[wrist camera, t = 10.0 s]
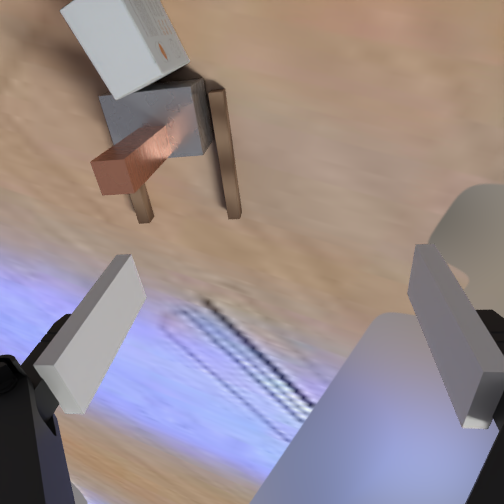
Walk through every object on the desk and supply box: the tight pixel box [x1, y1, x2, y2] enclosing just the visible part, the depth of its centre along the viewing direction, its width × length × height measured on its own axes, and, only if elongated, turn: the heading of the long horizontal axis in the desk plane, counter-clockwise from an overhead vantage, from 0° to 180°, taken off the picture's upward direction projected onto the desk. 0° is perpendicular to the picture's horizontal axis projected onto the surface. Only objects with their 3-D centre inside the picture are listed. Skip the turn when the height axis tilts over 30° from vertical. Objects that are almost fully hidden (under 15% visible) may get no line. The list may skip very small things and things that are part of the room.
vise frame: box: [111, 89, 242, 224], centre depth 39 cm, size 28×15×9 cm, turn 6°
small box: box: [60, 0, 190, 100], centre depth 34 cm, size 8×6×10 cm
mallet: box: [90, 78, 213, 195], centre depth 36 cm, size 7×10×17 cm
